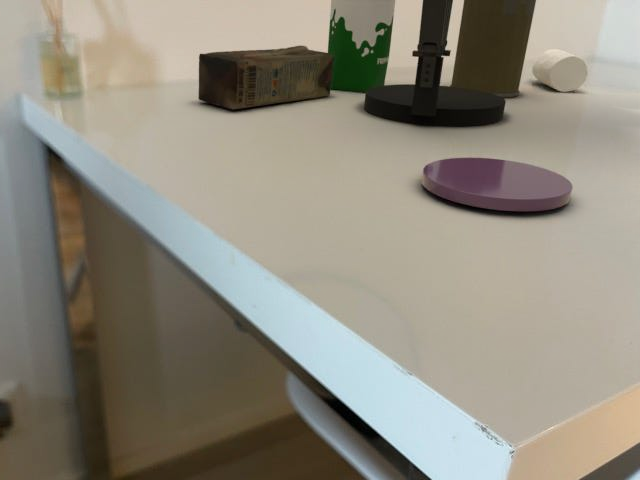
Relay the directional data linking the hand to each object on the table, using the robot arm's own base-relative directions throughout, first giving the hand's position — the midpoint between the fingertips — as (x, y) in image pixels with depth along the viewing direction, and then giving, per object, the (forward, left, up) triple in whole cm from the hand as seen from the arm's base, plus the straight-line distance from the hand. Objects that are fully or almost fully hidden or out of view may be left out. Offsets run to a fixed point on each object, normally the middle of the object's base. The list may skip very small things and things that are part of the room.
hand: (423, 114), depth 79 cm
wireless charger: (0, -10, -2) cm, 10 cm away
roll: (-16, -41, -2) cm, 44 cm away
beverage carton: (+22, -7, -2) cm, 23 cm away
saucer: (-9, +24, -1) cm, 26 cm away
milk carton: (+13, -23, -2) cm, 27 cm away
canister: (-6, -29, -2) cm, 30 cm away
